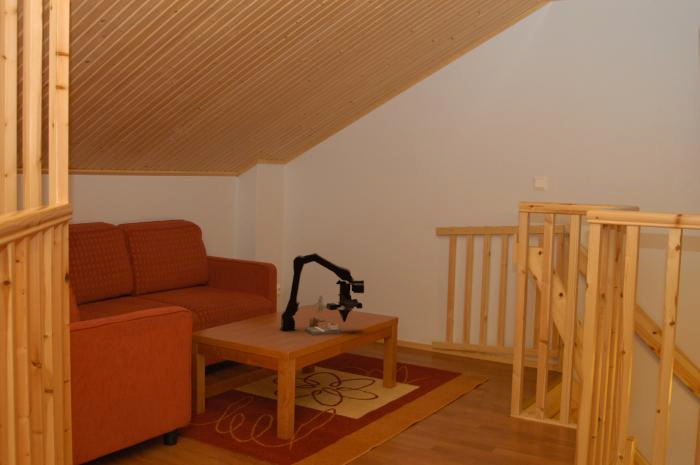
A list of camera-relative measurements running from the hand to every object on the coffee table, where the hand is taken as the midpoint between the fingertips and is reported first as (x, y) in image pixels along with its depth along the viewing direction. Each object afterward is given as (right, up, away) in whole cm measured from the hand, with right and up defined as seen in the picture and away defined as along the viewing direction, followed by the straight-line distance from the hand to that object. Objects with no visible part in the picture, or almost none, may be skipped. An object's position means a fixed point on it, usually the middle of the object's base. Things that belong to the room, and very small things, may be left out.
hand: (344, 321), depth 415 cm
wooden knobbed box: (-16, -4, +8) cm, 19 cm away
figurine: (-14, -3, +27) cm, 30 cm away
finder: (-6, -4, -2) cm, 7 cm away
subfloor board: (-12, -5, -2) cm, 13 cm away
